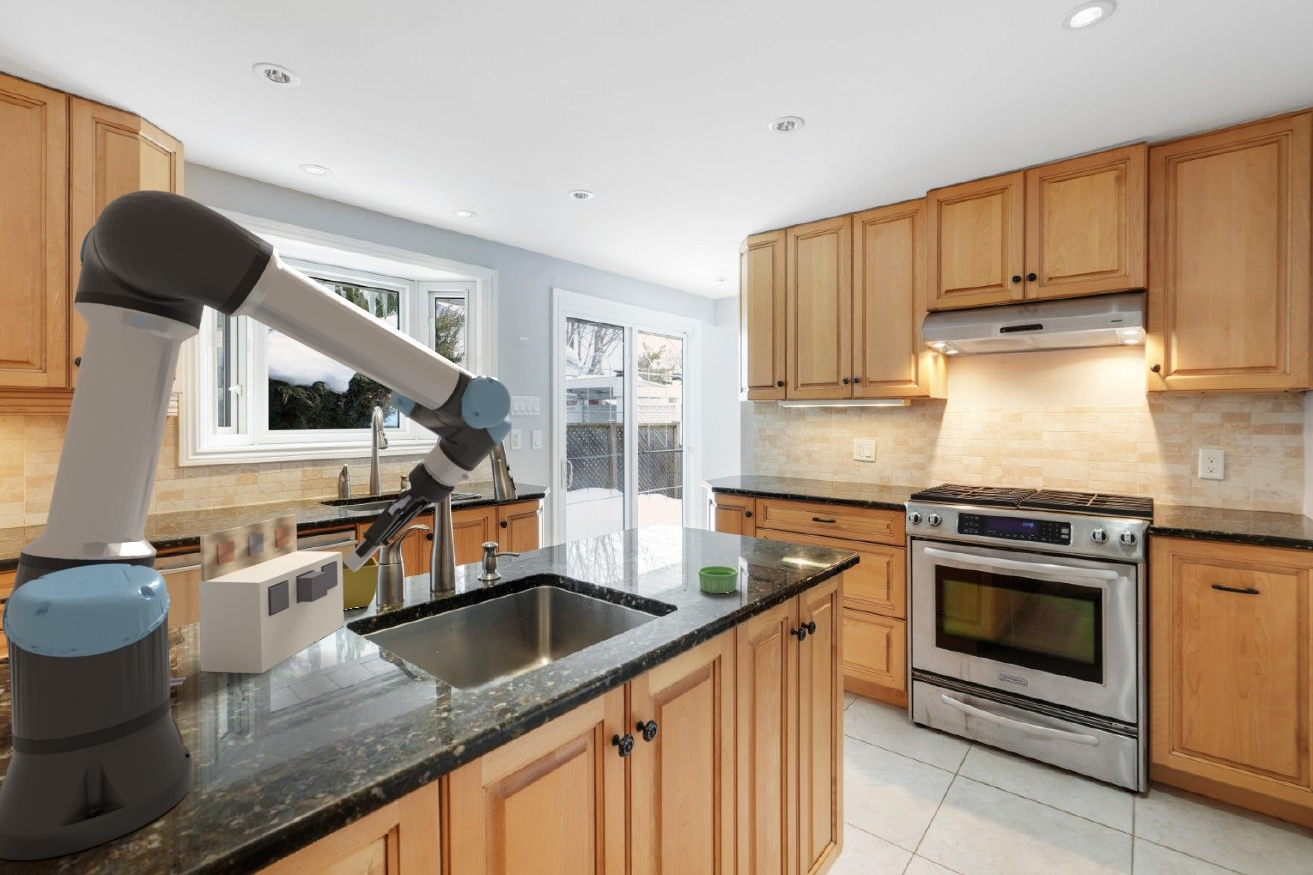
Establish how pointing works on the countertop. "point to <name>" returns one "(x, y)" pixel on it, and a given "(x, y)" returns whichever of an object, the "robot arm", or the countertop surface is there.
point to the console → (265, 614)
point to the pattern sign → (247, 546)
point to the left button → (278, 597)
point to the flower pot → (359, 584)
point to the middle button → (311, 586)
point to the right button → (330, 574)
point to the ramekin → (717, 579)
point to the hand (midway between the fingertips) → (350, 565)
